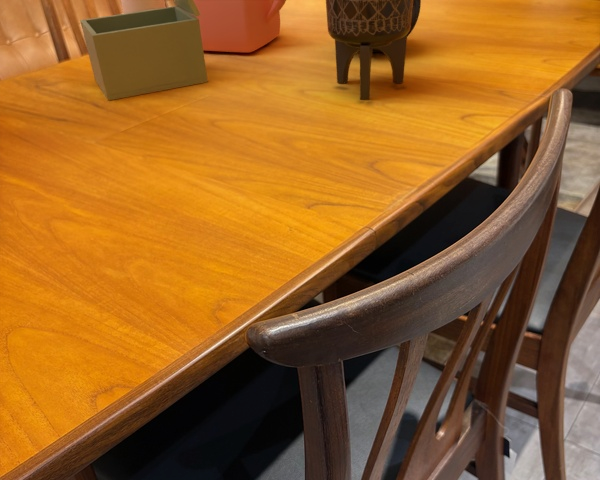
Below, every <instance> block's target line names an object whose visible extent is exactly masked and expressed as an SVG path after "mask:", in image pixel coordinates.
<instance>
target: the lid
mask: <svg viewBox="0 0 600 480" xmlns="http://www.w3.org/2000/svg"><path fill="white" fill-rule="evenodd" d="M173 3H174V4H175V6H179V7H180V8H182V9H183V10H185V11H187V12H188V13H191V14H192V15H194V16H196V17H197V16H199V15H200V13H199V11H198V9H197V7H196V5H195V3H194V1H193V0H173Z"/></svg>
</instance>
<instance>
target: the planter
mask: <svg viewBox="0 0 600 480" xmlns="http://www.w3.org/2000/svg"><path fill="white" fill-rule="evenodd" d="M412 7H413V0H325V8H326V24H327V32H328V34H329V36H330V37H331V39H333V40H334V45H335V46H334V49H335V65H336V83H337V84H342V85H343V84H347V82H349V70H350V67H351V63H352V61H353V58H354V57H355V55H356V54H357V53H358V52H359V100H361V101H362V100H364V101H365V100H366V101H367V100H370V98H371V97H370V96H371V95H370V94H371V70H372V57H373V52H372V51H373V49H378V50H380V51H381V52H382V53H383V54H384V55H385V57H386V58H387V60H388V61H389V63H390V64H389V65H390V67H391V73H392V82H393V83H394V84H396V85H399V84H403V83H404V77H405V66H406V65H405V64H406V54H407V53H406V52H407V40H408V37H407V34H408V32H409V31H410V28H411V18H412Z"/></svg>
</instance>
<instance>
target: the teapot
mask: <svg viewBox="0 0 600 480" xmlns="http://www.w3.org/2000/svg"><path fill="white" fill-rule="evenodd" d="M193 1H194V3H195V5H196V7H197V9H198V11H199V13H200V15H199V16H197V17H196V16H195V17H196V18H198V19H199V25H200V32H201V39H202V45H203V51H208V52H209V51H210V52H227V53H228V52H229V53H253V52H255V51H257V50H259V49H260V48H262V47H264V46H265V45H267V44H268V43H270V42H271V41H273V40H275V38H277V37H278V36H279V35H280V32H281V13H280V11H281V9H282V8H283V7H284V5H285V3H286V1H287V0H193ZM190 14H191V13H190ZM191 15H192V14H191ZM193 16H194V15H193Z"/></svg>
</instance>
